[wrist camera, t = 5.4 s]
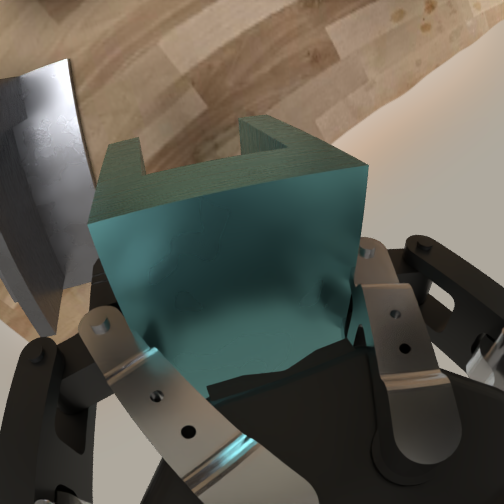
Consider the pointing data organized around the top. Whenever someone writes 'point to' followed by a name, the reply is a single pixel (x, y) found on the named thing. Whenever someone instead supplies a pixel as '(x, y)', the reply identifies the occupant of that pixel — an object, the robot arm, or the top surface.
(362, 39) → the top surface
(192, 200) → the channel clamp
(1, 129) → the stand
